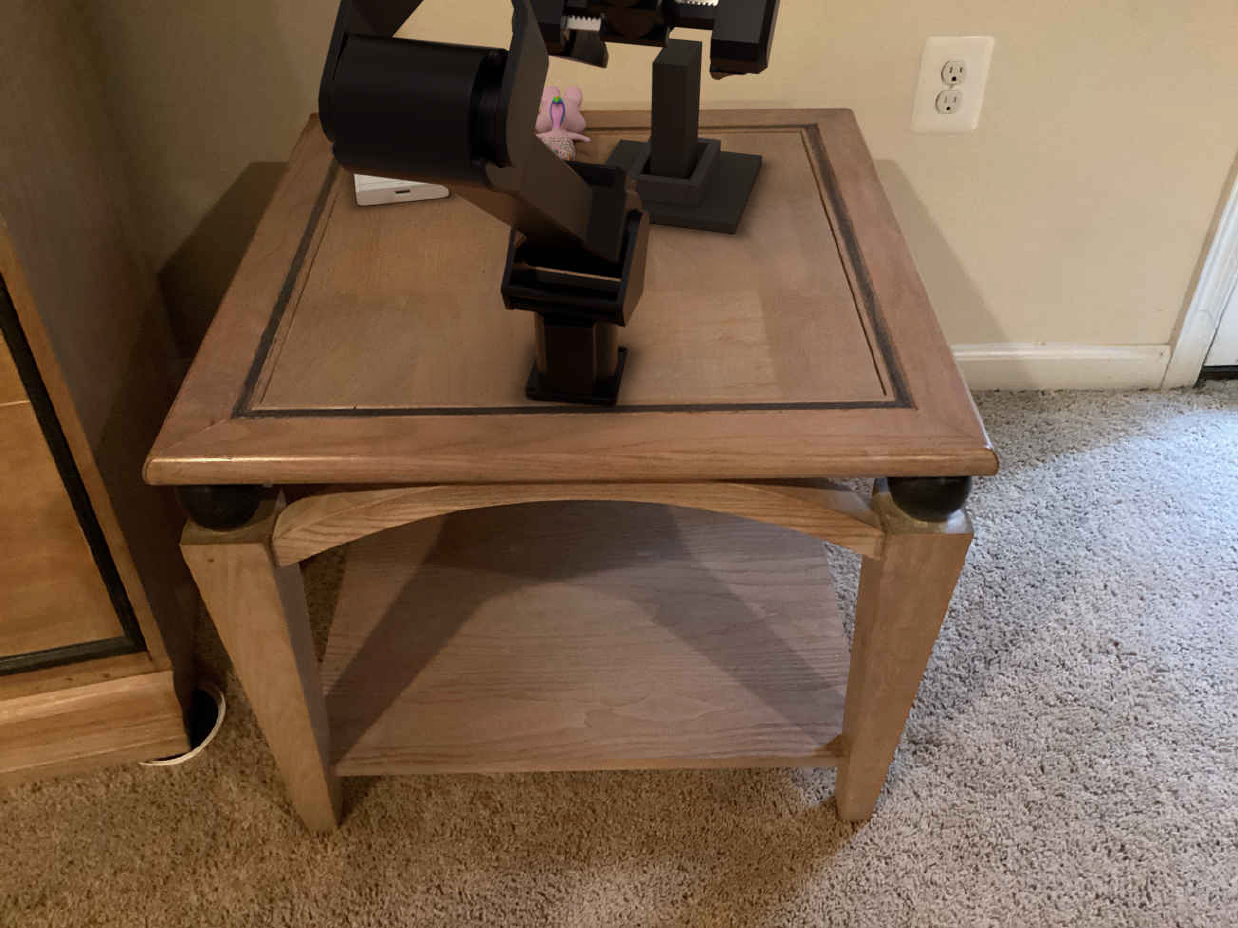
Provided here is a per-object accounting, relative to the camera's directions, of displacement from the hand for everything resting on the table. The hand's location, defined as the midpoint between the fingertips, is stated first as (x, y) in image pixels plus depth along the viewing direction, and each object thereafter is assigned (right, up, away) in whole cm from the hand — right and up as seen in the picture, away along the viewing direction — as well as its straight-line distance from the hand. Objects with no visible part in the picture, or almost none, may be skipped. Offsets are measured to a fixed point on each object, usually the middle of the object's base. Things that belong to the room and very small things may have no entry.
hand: (661, 68), depth 85 cm
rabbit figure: (-9, 0, +21) cm, 23 cm away
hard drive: (-24, -4, +16) cm, 29 cm away
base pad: (+2, -6, +14) cm, 15 cm away
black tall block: (+2, -5, +13) cm, 14 cm away
